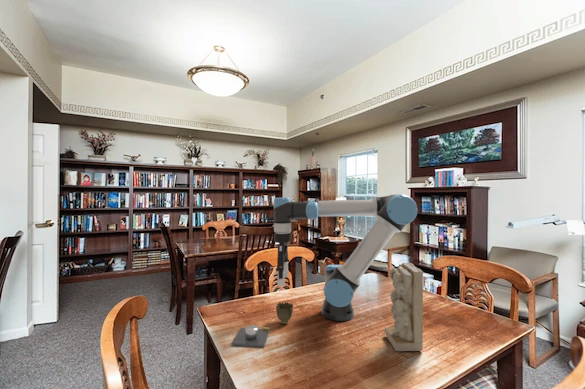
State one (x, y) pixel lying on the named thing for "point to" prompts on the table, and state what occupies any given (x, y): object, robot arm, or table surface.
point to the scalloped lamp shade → (284, 312)
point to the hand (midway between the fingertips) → (283, 281)
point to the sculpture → (406, 308)
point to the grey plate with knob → (251, 336)
